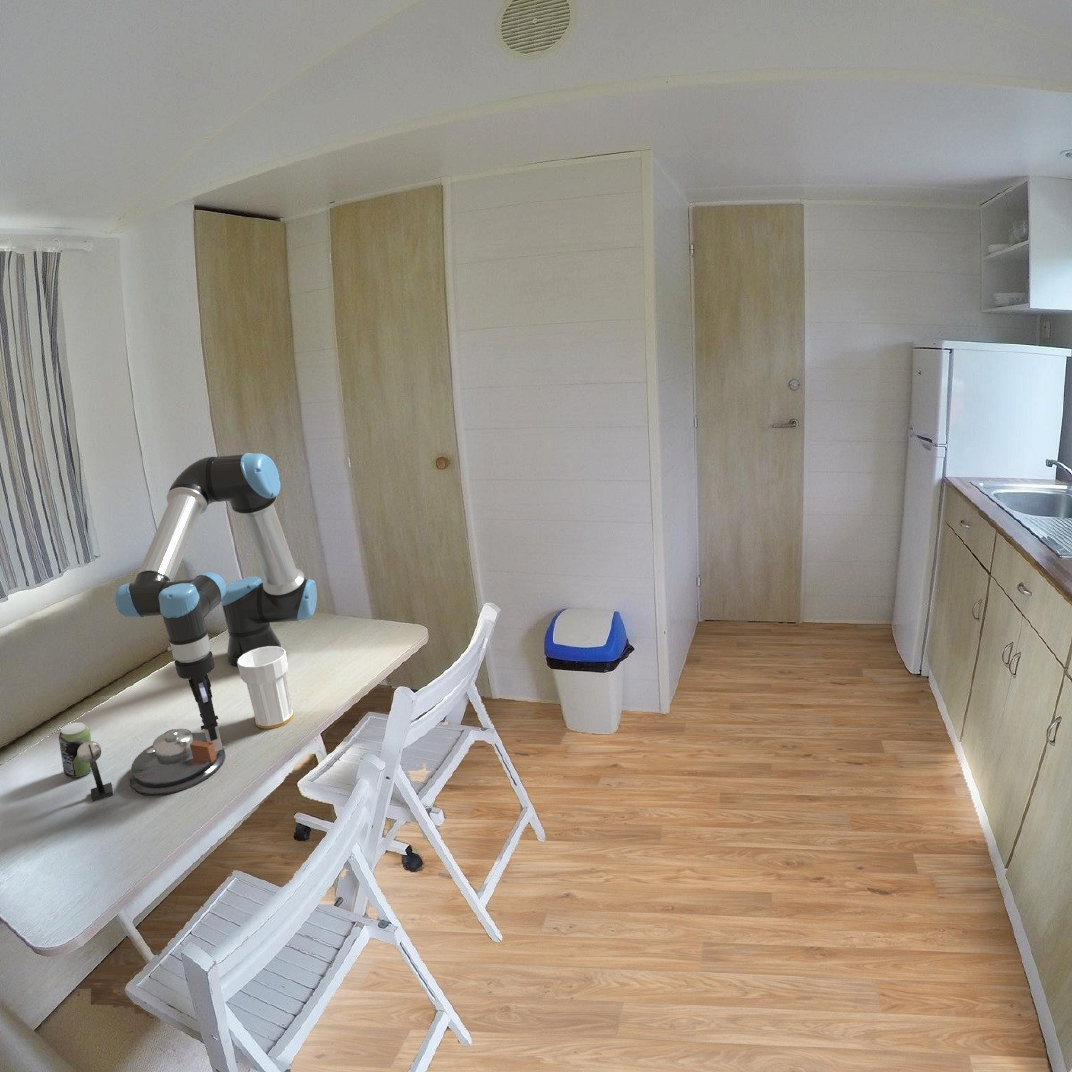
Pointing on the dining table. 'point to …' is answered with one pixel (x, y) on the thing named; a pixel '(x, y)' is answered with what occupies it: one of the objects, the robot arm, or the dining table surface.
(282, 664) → the cup
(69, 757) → the beverage can
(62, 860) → the dining table surface
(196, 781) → the turntable base
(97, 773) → the dial stand
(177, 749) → the cover
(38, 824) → the dining table surface
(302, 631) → the dining table surface
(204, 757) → the turntable
